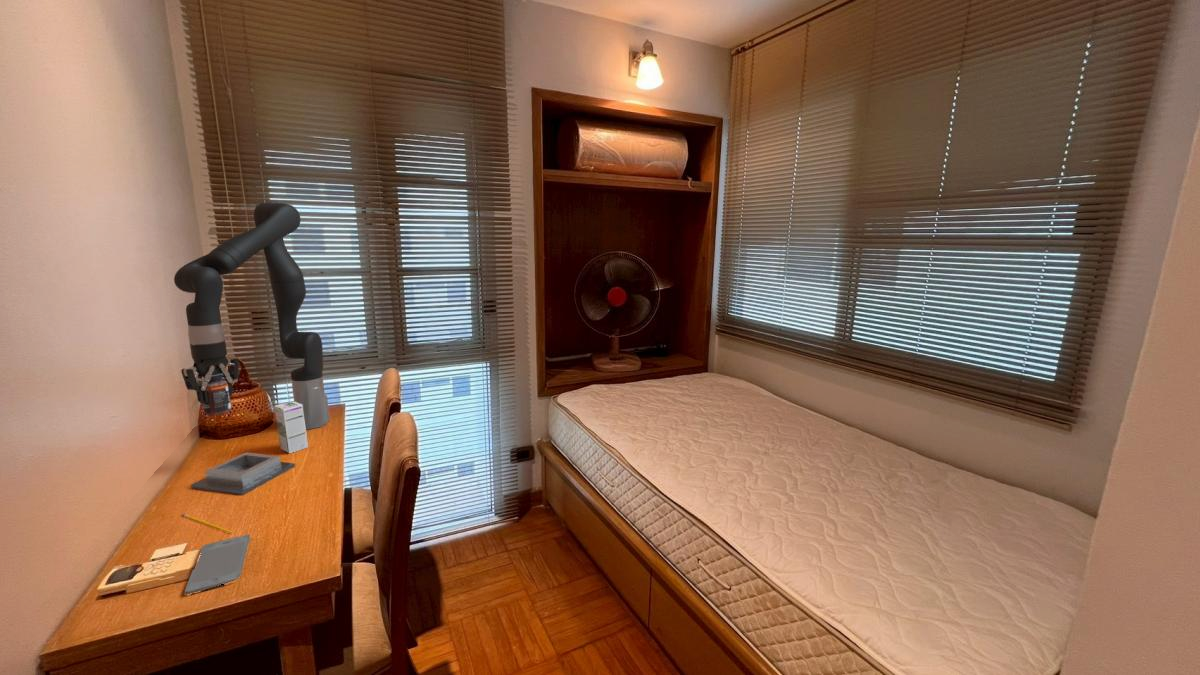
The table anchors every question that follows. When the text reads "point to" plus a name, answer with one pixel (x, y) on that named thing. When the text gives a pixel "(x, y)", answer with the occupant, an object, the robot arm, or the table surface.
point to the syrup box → (291, 426)
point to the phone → (218, 564)
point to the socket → (242, 473)
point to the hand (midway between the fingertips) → (216, 399)
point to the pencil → (206, 523)
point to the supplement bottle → (217, 396)
